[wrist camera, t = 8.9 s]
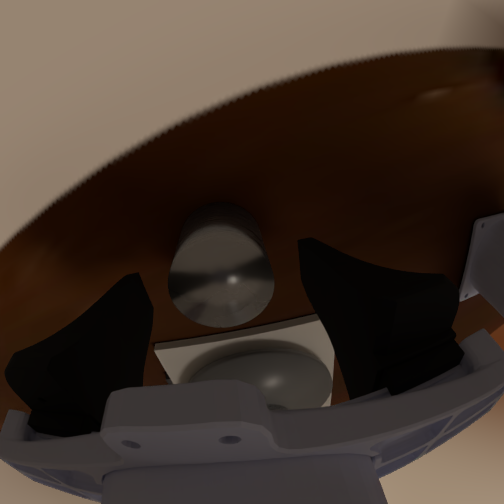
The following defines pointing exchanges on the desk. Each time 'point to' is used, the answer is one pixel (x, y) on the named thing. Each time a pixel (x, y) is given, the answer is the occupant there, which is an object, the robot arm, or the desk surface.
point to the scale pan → (275, 375)
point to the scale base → (245, 346)
